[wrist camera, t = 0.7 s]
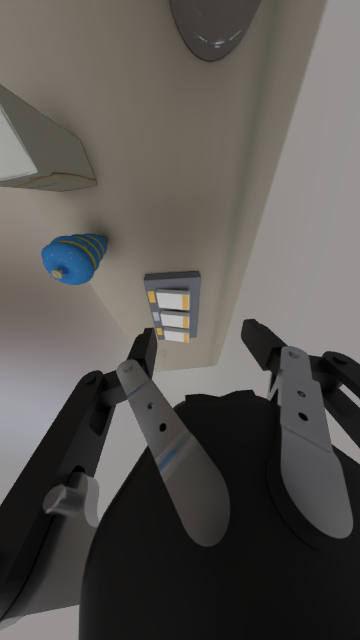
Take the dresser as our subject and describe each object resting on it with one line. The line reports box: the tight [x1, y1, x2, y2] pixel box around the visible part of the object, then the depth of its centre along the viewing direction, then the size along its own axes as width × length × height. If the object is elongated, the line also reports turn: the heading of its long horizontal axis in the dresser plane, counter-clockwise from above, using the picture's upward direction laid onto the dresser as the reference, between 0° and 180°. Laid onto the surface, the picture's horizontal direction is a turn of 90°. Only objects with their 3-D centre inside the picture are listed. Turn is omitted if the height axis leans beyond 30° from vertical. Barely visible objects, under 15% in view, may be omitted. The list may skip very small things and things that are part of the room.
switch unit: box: [144, 271, 201, 340], centre depth 35 cm, size 20×12×4 cm, turn 2°
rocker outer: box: [163, 327, 190, 343], centre depth 37 cm, size 4×7×2 cm, turn 92°
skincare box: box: [0, 84, 97, 192], centre depth 14 cm, size 6×4×12 cm
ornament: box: [41, 234, 107, 285], centre depth 19 cm, size 5×5×15 cm
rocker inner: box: [156, 289, 190, 310], centre depth 28 cm, size 4×7×2 cm, turn 92°
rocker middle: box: [160, 310, 190, 329], centre depth 32 cm, size 4×7×2 cm, turn 92°
